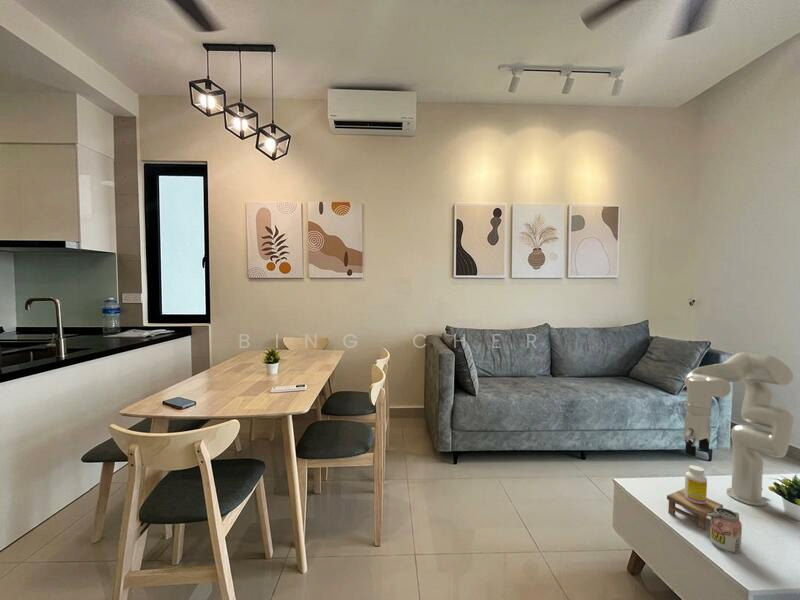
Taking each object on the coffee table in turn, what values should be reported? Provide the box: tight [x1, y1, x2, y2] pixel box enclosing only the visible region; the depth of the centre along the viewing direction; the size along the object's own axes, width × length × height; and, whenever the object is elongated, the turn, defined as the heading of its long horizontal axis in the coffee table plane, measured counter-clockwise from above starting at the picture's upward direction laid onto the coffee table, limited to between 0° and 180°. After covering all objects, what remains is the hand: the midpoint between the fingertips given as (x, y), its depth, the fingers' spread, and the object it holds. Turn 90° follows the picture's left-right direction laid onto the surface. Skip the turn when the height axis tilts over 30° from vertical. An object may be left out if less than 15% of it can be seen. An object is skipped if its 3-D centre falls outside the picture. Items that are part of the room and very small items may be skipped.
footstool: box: [666, 487, 724, 531], centre depth 144 cm, size 13×13×7 cm
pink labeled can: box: [707, 507, 743, 554], centre depth 128 cm, size 9×8×12 cm
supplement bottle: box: [684, 464, 708, 504], centre depth 144 cm, size 7×7×13 cm
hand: (697, 452), depth 144 cm, fingers open, 9 cm apart
